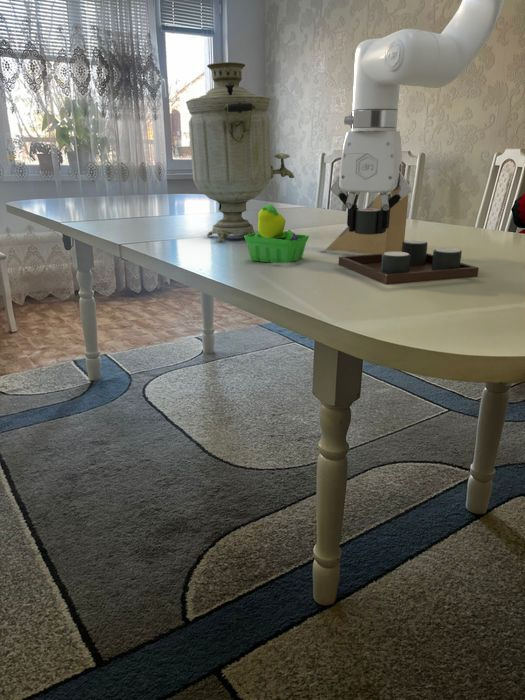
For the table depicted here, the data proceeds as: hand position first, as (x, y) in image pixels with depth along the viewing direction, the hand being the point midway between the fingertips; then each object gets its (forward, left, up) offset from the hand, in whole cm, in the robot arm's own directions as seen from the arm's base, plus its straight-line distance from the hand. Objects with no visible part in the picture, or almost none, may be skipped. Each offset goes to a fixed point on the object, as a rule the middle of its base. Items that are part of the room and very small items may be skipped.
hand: (367, 230), depth 98 cm
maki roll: (0, 0, 0) cm, 0 cm away
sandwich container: (+18, -9, -7) cm, 21 cm away
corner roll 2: (0, -10, -7) cm, 12 cm away
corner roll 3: (-10, -10, -7) cm, 16 cm away
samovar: (+47, +10, -7) cm, 48 cm away
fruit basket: (+14, +13, -7) cm, 20 cm away
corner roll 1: (-10, 0, -7) cm, 12 cm away
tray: (-5, -5, -7) cm, 10 cm away
